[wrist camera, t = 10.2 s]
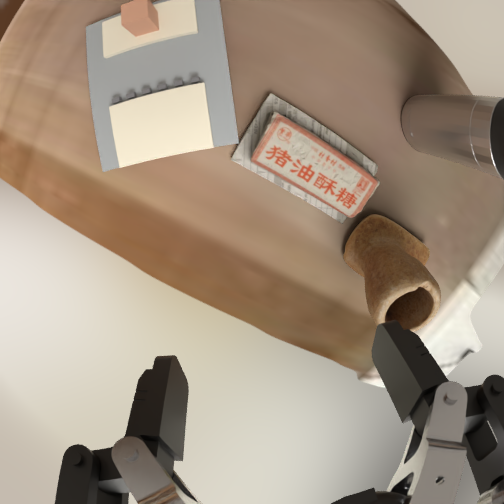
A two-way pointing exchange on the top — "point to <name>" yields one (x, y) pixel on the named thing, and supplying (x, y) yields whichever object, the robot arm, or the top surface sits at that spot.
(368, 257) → the brown hollow piece
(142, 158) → the board
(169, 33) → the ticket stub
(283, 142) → the packaged product
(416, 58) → the top surface
